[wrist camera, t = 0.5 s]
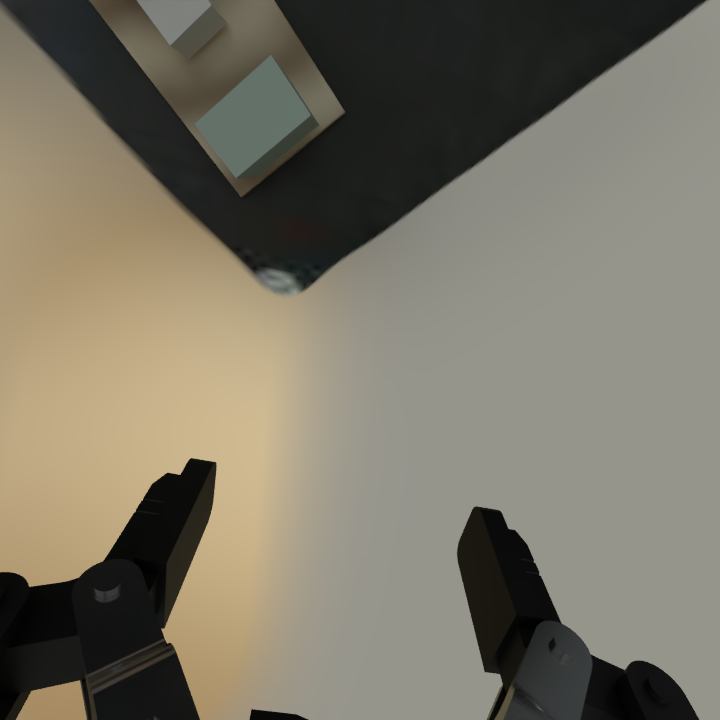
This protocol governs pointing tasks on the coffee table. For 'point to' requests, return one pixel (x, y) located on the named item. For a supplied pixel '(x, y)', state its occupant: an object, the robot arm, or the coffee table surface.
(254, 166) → the sage socket
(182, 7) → the tube
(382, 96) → the coffee table surface
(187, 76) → the oak base
